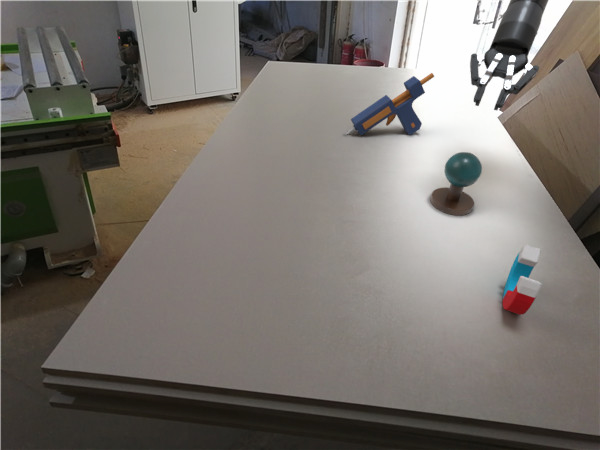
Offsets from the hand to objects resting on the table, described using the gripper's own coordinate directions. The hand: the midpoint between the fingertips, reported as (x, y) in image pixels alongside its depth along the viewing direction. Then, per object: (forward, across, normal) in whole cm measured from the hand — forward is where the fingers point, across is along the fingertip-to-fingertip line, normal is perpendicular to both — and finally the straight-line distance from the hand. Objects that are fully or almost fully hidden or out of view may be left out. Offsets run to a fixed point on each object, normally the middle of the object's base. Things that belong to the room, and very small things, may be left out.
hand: (486, 105), depth 83 cm
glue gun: (-3, -28, +39) cm, 48 cm away
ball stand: (+17, 0, +18) cm, 25 cm away
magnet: (+36, +17, -1) cm, 40 cm away
